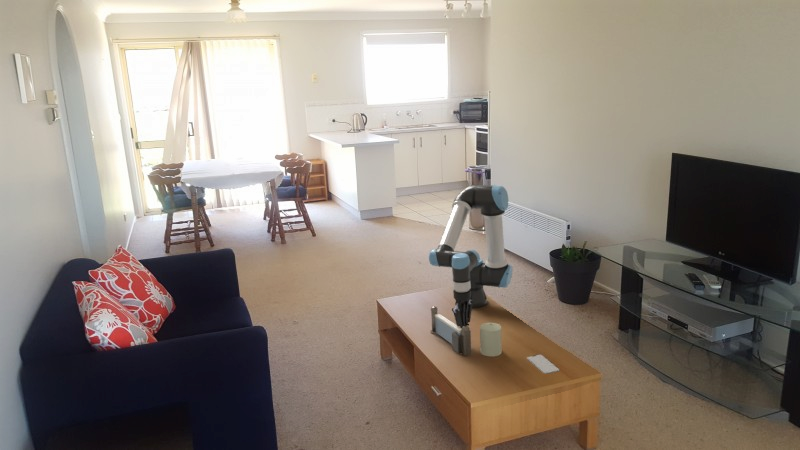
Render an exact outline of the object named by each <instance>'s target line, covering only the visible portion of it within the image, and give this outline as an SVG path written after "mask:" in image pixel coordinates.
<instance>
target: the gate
mask: <svg viewBox="0 0 800 450" xmlns="http://www.w3.org/2000/svg"><path fill="white" fill-rule="evenodd" d="M435 324H436V333H437V334H436V335H439V336H440V337H441V338H443V339H445V340H446V341H447V342H449V344H451V345H452V333H453V332H455V333H457V334H459V335H460V336H461V330H462V328H460V326H457V324H456V323H454V322H453V321H451V320H449V319H448V318H447V317H445V316H443V315H442V314H440V313H437V314H435Z"/></svg>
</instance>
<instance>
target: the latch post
mask: <svg viewBox="0 0 800 450" xmlns="http://www.w3.org/2000/svg"><path fill="white" fill-rule="evenodd" d="M470 329H471V328H470V326H467V325H464V326H463V327H462V330H461V336H460V335H459V334H457V333H455V332H453V333H452V344H451V347H452V351H453V352H455V353H456V354H457V355H463V356H465V357H466V356H470V355H472V338H471V337H472V334H471V330H470Z"/></svg>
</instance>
